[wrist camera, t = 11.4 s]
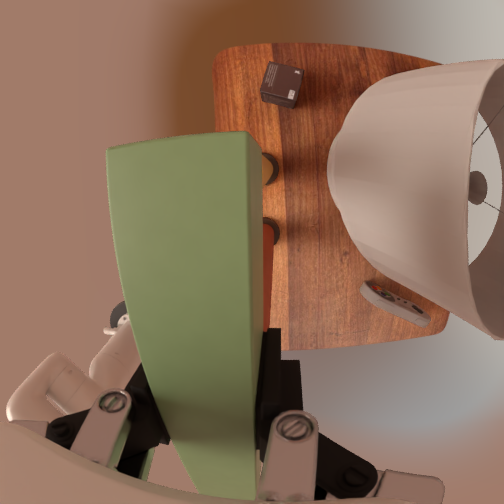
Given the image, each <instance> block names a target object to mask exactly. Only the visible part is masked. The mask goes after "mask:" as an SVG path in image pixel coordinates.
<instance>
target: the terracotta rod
mask: <svg viewBox="0 0 504 504" xmlns="http://www.w3.org/2000/svg"><path fill="white" fill-rule="evenodd" d="M279 235H280V233H279V228H278V226H277V224H276V223H275V222H274V221H273V220H271V219H269V218H264V217H263V331H264V332H267V328H269V325H270V308H271V290H272V271H273V250H274V245H275V244H276V243H277V241H278V239H279Z"/></svg>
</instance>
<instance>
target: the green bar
mask: <svg viewBox="0 0 504 504" xmlns="http://www.w3.org/2000/svg"><path fill="white" fill-rule="evenodd" d="M106 169H107V186H108V198H109V208H110V218H111V226H112V234H113V241H114V247H115V253H116V259H117V265H118V271H119V276H120V281H121V286H122V290H123V295H124V299H125V304H126V308H127V312H128V316H129V320H130V324H131V328H132V332H133V335H134V339H135V342H136V346H137V349H138V352H139V356H140V359H141V362H142V365H143V368H144V371H145V374H146V377H147V380H148V383H149V386H150V388H151V391H152V394H153V397H154V399H155V402H156V404H157V407H158V410H159V412H160V414H161V417H162V419H163V422H164V424H165V426H166V429H167V431H168V433H169V436H170V438H171V440H172V442H173V444H174V446H175V449H176V450H177V453H178V454H179V457H180V459H181V460H182V463H183V465H184V467H185V469H186V470H187V472H188V474H189V476H190V478H191V480H192V482H193V483H194V485H195V487H196V489H197V490H198V492H199V494H202V495H208V496H215V497H222V498H230V499H240V500H253V501H255V497H256V493H257V489H258V485H259V481H260V471H261V461H260V450H256V394H257V384H258V375H259V366H260V356H261V346H262V336H263V205H262V149H261V147H260V146H259V145H258V143H257V142H256V141H255V140H254V138H253V137H252V136H251V135H250V134H249V132H247V131H230V132H215V133H203V134H192V135H183V136H174V137H167V138H160V139H153V140H146V141H140V142H134V143H129V144H123V145H119V146H113V147H110V148H108V149H107V150H106Z"/></svg>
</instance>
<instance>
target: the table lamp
mask: <svg viewBox="0 0 504 504" xmlns="http://www.w3.org/2000/svg"><path fill="white" fill-rule="evenodd" d="M478 111H479V113H480V114H481V116H482V117H483V119H484V120H485V122H486V123H487V125H488V126H487V127H489V129H490V131H491V134H492V136H493V138H494V141H495V144H496V147H497V150H498V153H499V158H500V163H501V169H502V185H503V187H502V200H501V207H500V210H498V211H499V216H498V220H497V222H496V225H495V228H494V230H493V233H492V235H491V237H490V239H489V241H488V242H487V244H486V246H485V248H484V249H483V250H482V252H481V253H480V254H479V256H478V257H477V258H476V259H475V260H474V261H473V262H472V263H471V264H470V265H469V266H468V240H467V228H468V200H469V201H470V202H471V203H473V204H476V205H478V204H481V203H482V202H484V199H485V198H486V194H487V182H486V179H485V177H484V175H483V174H482V173H481V172H479V171H473V172H470V161H471V154H472V146H473V144H474V143H475V142H476V141H477V140H478V138H479V137H480V136H481V135H482V134H483V132H484V131H485V130H486V129H487V127H486V129H485V130H484V131H483V132H482V133H481V135H480V136H479V137H478V138H477V139H476V141H475V142H474V143H473V135H474V129H475V125H476V120H477V115H478ZM327 178H328V185H329V189H330V192H331V196H332V198H333V200H334V202H335V204H336V206H337V208H338V209H339V210H340V212H341V216H342V220H343V222H344V224H345V226H346V229H347V231H348V233H349V235H350V237H351V239H352V241H353V242H354V244H355V245H356V247H357V248H358V250H359V251H360V253H361V254H362V255H363V256H364V257H365V259H366V260H367V261H368V262H369V263H370V264H371V265H372V266H373V267H374V268H376V269H377V270H378V271H380V272H381V273H382V274H384V275H385V276H386V277H388V278H390V279H392V280H394V281H396V282H398V283H399V284H401V285H403V286H405V287H407V288H409V289H410V290H412V291H414V292H416V293H418V294H419V295H421V296H423V297H425V298H427V299H428V300H430V301H432V302H434V303H435V304H437V305H439V306H441V307H442V308H444V309H446V310H448V311H449V312H451V313H453V314H455V315H456V316H458V317H460V318H462V319H463V320H465V321H467V322H468V323H470V324H472V325H473V326H475V327H476V328H478V329H480V330H481V331H483V332H485V333H487V334H488V335H490V336H491V337H492V338H493V339H494V340H504V59H491V60H477V61H467V62H459V63H451V64H445V65H438V66H432V67H427V68H422V69H417V70H412V71H407V72H403V73H399V74H395V75H392V76H389V77H386V78H383V79H382V80H380V81H378V82H377V83H375V84H373V85H372V86H370V87H369V88H368V89H367V90H366V91H365V92H364V93H363V94H362V95H361V96H360V97H359V98H358V99H357V100H356V101H355V103H354V105H353V106H352V108H351V110H350V111H349V113H348V114H347V116H346V118H345V121H344V123H343V126H342V129H341V130H340V131H339V133H338V134H337V136H336V137H335V139H334V140H333V143H332V145H331V148H330V150H329V155H328V161H327ZM485 203H486V202H485ZM490 206H491V205H490ZM492 207H493V206H492Z"/></svg>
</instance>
